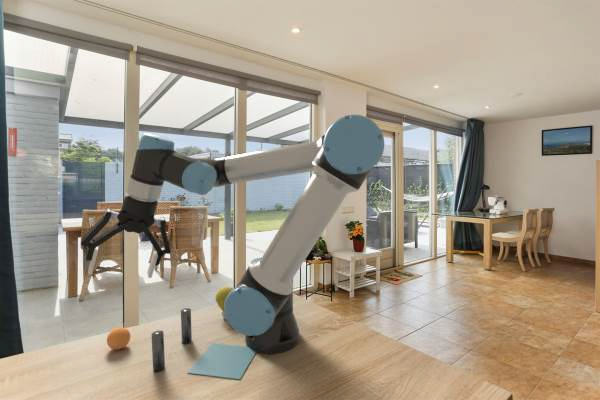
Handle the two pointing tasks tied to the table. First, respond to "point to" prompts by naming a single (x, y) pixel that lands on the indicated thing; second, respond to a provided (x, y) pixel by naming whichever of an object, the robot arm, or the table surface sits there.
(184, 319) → the right post
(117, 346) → the ball
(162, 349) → the left post
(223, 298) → the light bulb
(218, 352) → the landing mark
